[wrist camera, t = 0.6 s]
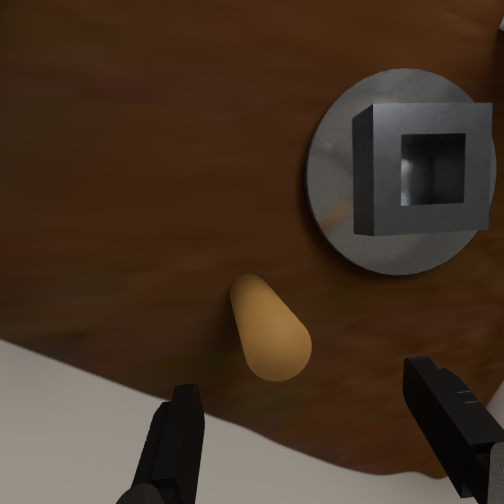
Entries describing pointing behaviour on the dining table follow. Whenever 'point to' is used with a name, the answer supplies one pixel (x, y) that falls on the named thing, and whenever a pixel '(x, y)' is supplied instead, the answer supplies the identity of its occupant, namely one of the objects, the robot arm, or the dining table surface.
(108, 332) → the dining table surface
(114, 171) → the dining table surface
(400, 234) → the square frame on disc
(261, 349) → the pin
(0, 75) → the dining table surface
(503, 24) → the milk
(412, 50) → the dining table surface
